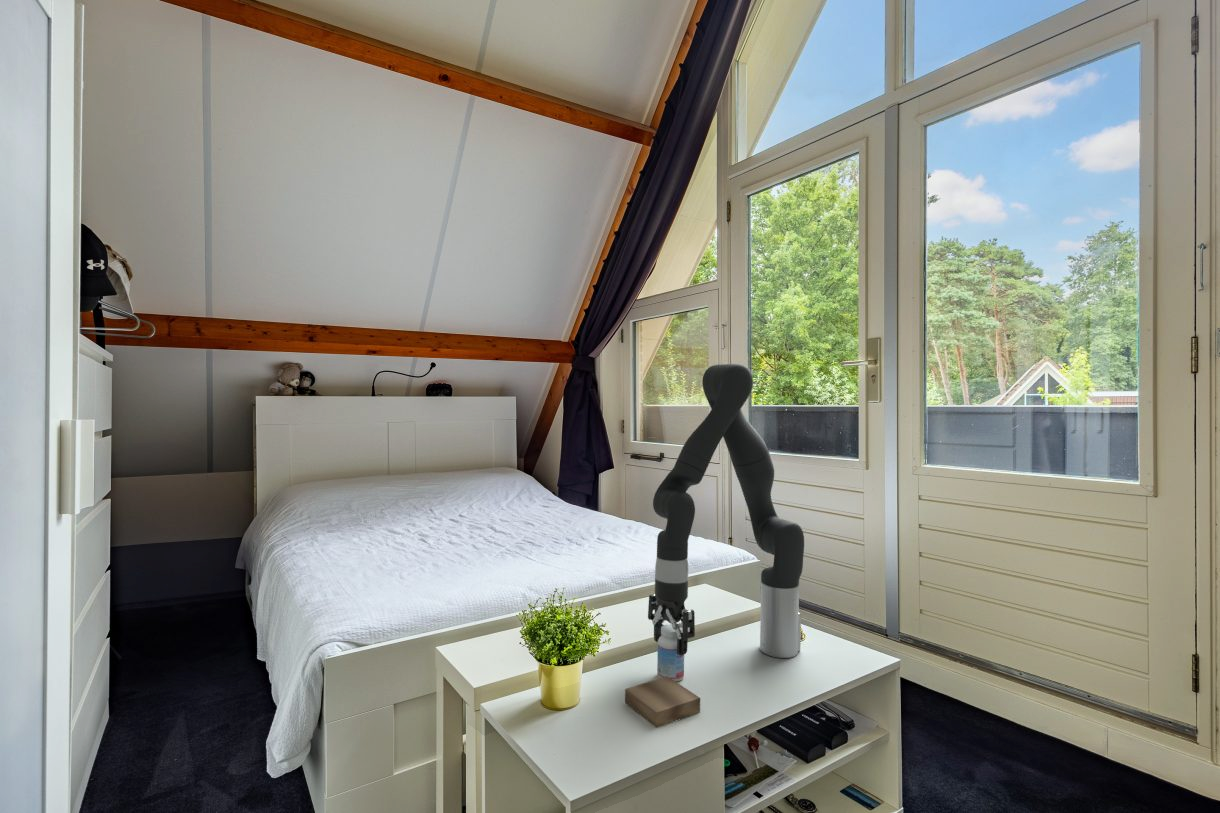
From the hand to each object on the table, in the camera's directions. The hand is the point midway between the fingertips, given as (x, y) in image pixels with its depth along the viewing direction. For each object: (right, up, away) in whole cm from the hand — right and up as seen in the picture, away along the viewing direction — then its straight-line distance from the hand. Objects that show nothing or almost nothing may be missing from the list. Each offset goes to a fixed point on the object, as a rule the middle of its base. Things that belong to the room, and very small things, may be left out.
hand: (669, 647), depth 140 cm
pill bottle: (0, -7, 0) cm, 7 cm away
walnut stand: (-3, -7, -13) cm, 15 cm away
